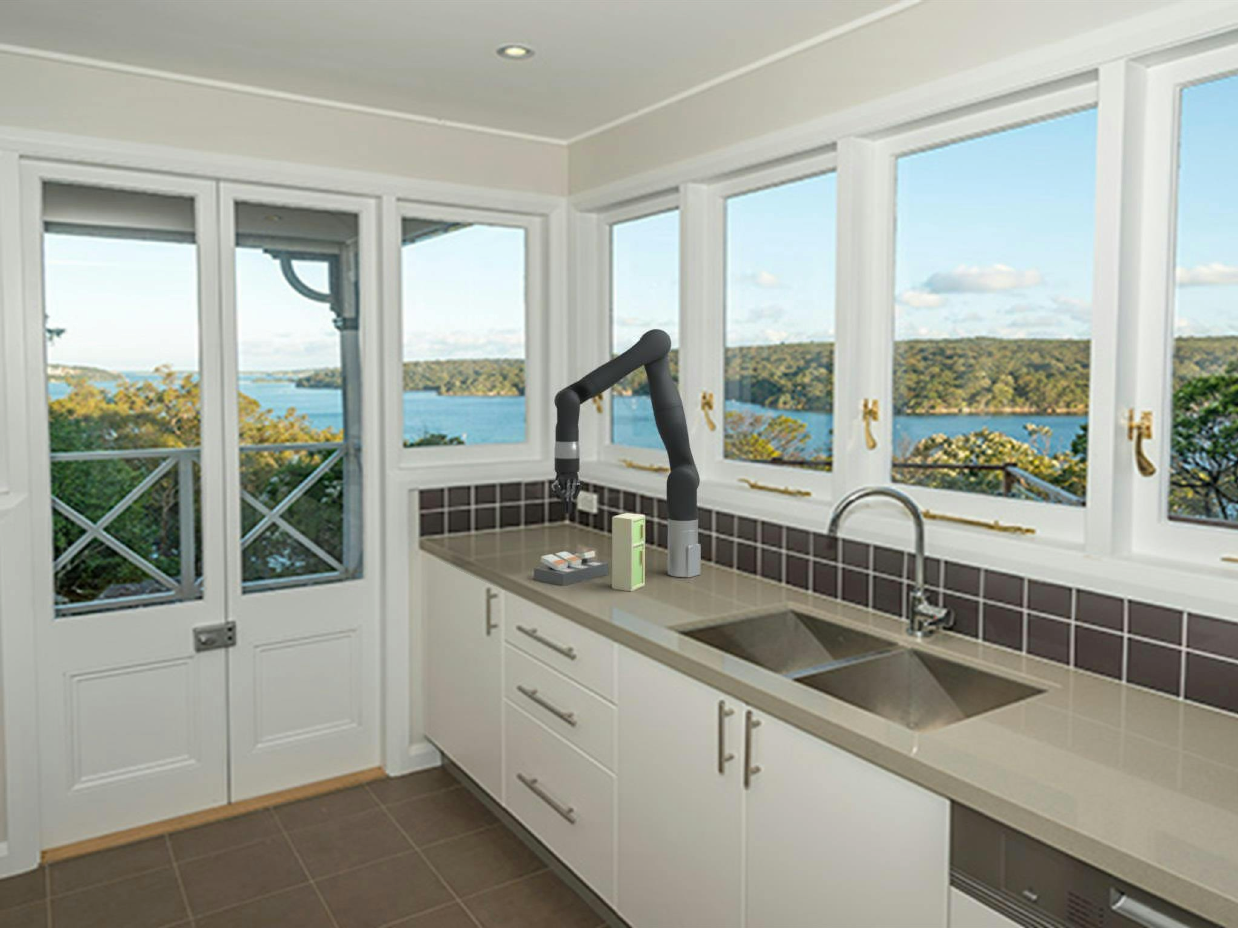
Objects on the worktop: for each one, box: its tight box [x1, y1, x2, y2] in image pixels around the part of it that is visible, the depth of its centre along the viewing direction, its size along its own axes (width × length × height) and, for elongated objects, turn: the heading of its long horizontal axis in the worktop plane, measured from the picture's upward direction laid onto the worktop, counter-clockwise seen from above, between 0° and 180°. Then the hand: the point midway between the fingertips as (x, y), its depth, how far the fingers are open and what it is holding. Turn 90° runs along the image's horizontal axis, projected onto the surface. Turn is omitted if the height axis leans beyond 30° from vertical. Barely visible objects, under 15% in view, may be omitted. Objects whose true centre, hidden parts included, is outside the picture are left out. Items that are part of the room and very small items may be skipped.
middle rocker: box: [554, 551, 582, 567], centre depth 284 cm, size 7×4×2 cm, turn 50°
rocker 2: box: [573, 550, 596, 559], centre depth 289 cm, size 7×4×2 cm, turn 49°
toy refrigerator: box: [611, 512, 646, 592], centre depth 269 cm, size 8×7×21 cm
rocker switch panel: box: [533, 558, 610, 587], centre depth 285 cm, size 12×24×4 cm, turn 139°
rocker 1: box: [540, 553, 568, 570], centre depth 280 cm, size 7×4×2 cm, turn 50°
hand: (566, 513), depth 283 cm, fingers closed
